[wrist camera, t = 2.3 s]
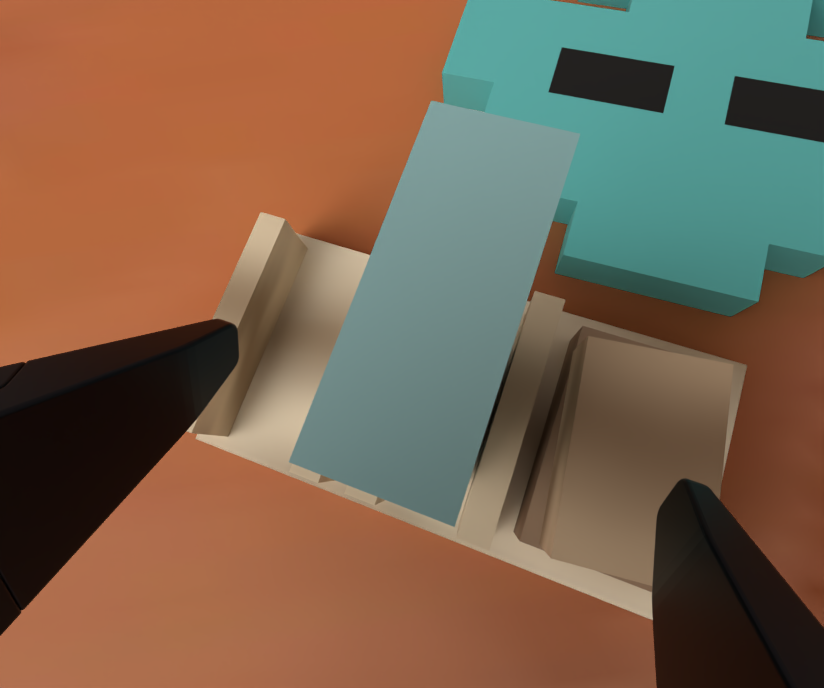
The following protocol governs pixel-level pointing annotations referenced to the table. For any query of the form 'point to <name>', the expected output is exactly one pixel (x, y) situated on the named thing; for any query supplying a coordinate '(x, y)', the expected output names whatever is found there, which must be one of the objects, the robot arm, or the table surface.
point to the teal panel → (437, 311)
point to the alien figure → (666, 134)
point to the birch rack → (306, 362)
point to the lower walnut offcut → (541, 472)
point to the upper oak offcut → (630, 451)
